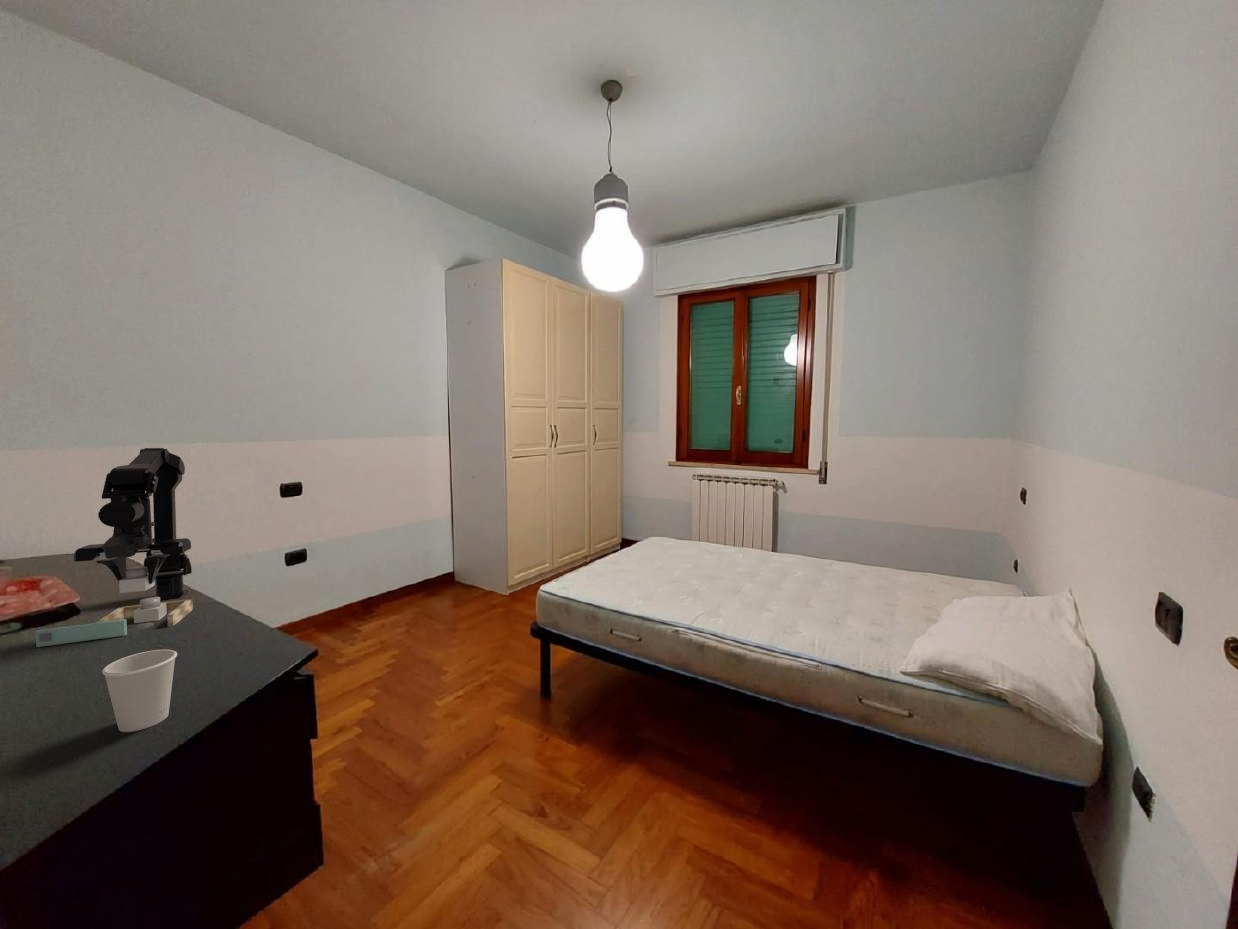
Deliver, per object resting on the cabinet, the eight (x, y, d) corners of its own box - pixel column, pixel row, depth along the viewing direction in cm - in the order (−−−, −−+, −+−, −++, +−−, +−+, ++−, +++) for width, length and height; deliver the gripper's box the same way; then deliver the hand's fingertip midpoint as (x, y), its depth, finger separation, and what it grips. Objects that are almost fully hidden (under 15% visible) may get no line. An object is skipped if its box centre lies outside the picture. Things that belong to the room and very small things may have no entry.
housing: (120, 618, 116) (120, 607, 116) (193, 610, 122) (192, 599, 122) (92, 637, 105) (91, 624, 105) (173, 626, 111) (172, 614, 111)
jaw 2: (143, 617, 117) (142, 597, 117) (166, 614, 119) (165, 595, 119) (134, 623, 113) (133, 603, 113) (158, 620, 115) (157, 600, 114)
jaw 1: (119, 593, 107) (118, 572, 107) (129, 587, 111) (128, 567, 111) (145, 590, 109) (144, 569, 109) (154, 585, 113) (153, 565, 113)
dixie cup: (193, 705, 79) (191, 648, 78) (145, 737, 70) (141, 673, 70) (143, 706, 78) (140, 649, 78) (88, 738, 70) (84, 674, 70)
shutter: (39, 645, 100) (38, 629, 100) (127, 633, 107) (126, 619, 106) (35, 647, 99) (34, 632, 99) (124, 636, 105) (123, 621, 105)
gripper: (55, 529, 98) (59, 601, 99) (170, 523, 106) (174, 589, 107) (87, 521, 108) (90, 586, 109) (190, 515, 116) (193, 576, 117)
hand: (137, 584), depth 110 cm, fingers closed on jaw 1, 4 cm apart
